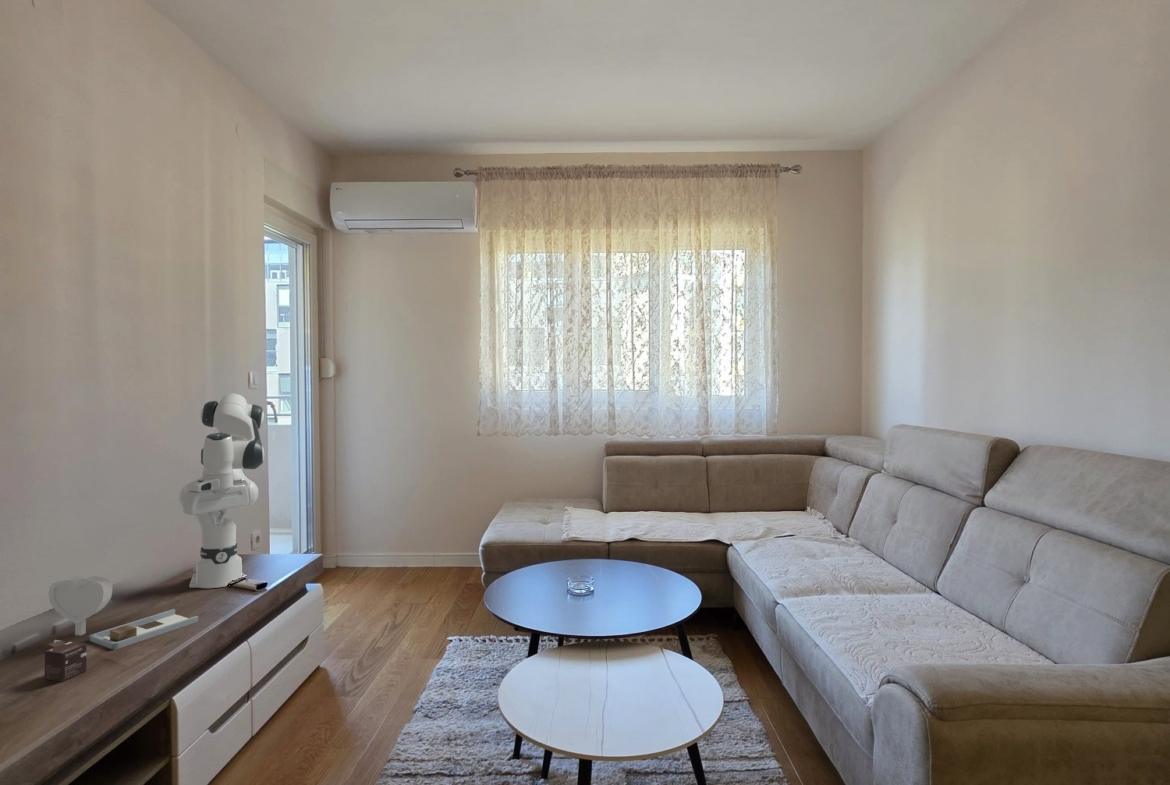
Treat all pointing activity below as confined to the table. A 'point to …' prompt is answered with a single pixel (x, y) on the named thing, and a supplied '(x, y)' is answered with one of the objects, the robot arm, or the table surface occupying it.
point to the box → (65, 661)
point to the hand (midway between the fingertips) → (217, 523)
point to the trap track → (167, 618)
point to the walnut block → (123, 633)
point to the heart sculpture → (80, 599)
